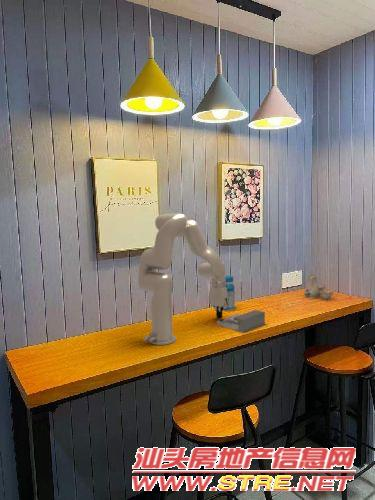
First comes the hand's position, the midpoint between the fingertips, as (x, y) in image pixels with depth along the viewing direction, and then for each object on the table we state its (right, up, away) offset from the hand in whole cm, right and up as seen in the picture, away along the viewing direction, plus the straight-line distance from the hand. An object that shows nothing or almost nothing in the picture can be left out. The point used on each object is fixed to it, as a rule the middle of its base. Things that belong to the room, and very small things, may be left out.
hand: (219, 317), depth 202 cm
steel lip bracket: (+10, -2, -10) cm, 14 cm away
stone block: (+7, -2, -7) cm, 10 cm away
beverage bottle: (+7, +1, +21) cm, 23 cm away
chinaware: (+69, +5, +47) cm, 84 cm away
